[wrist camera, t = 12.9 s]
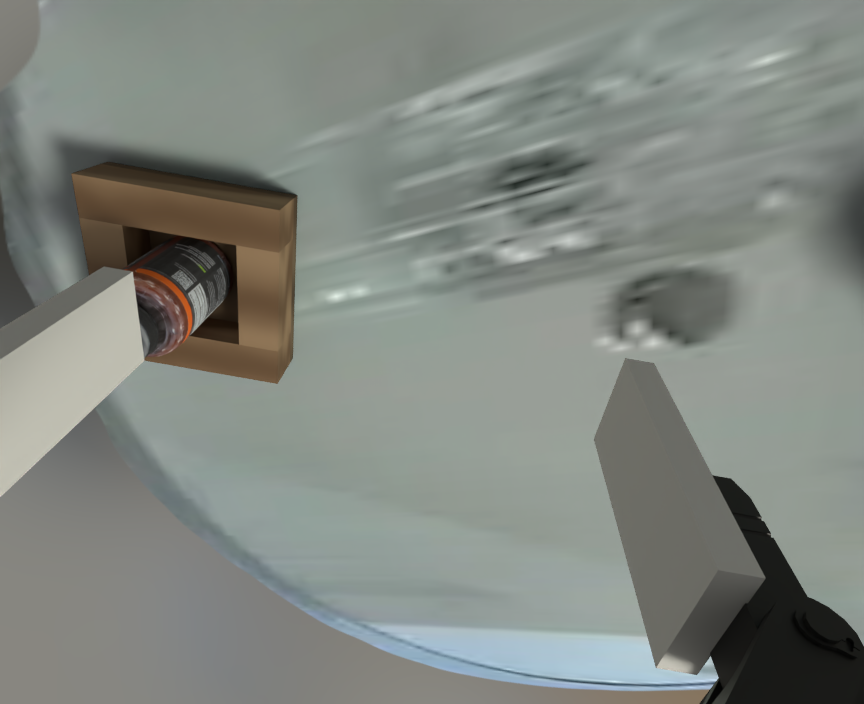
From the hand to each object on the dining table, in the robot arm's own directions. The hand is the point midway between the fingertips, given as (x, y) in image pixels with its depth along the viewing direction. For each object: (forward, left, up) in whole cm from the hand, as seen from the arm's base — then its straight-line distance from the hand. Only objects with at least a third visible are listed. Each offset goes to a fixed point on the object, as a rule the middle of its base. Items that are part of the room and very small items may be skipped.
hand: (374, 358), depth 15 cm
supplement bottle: (+11, -17, -26) cm, 33 cm away
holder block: (+11, -17, -27) cm, 34 cm away
